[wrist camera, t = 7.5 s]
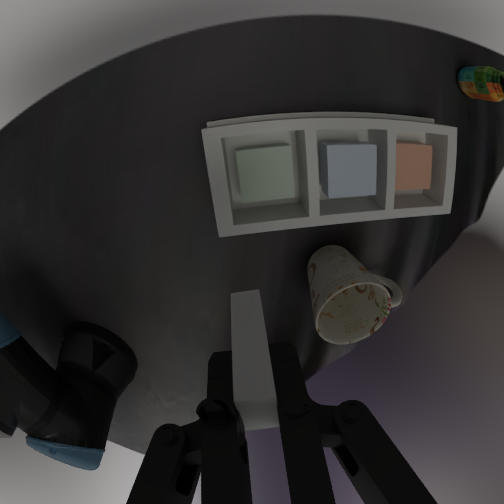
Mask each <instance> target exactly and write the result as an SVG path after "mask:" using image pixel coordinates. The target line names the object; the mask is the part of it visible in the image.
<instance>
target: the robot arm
mask: <svg viewBox="0 0 504 504" xmlns="http://www.w3.org/2000/svg"><path fill="white" fill-rule="evenodd" d="M231 331H232V350H231V351H222V352H213V354H212V356H211V358H210V360H209V362H208V384H207V398H206V399H205V400H203V401H201V403H200V404H199V405H198V406H197V410H196V413H197V415H198V416H199V418H200V419H199V420H197V421H195V422H193V423H190V424H187V425H184V426H181V427H180V426H178V425H175V424H164V425H162V426H160V427H159V428H157V430H156V431H155V433H154V435H153V437H152V439H151V442H150V444H149V447H148V449H147V452H146V454H145V457H144V459H143V462H142V465H141V467H140V469H139V472H138V475H137V477H136V480H135V483H134V485H133V487H132V490H131V492H130V495H129V498H128V500H127V503H126V504H191V503H192V500H193V497H194V493H195V490H196V486H197V483H198V480H199V476H200V473H201V504H253V503H252V493H251V482H250V470H249V459H248V448H247V441H246V438H245V430H246V431H248V430H257V429H264V428H272V427H279V426H280V432H281V439H282V445H283V452H284V458H285V465H286V472H287V478H288V485H289V491H290V498H291V504H336V503H335V499H334V494H333V490H332V485H331V481H330V476H329V472H328V468H327V464H326V459H325V455H324V451H323V447H331V449H332V451H333V453H334V454H335V456H336V457H337V459H338V461H339V463H340V464H341V466H342V468H343V469H344V471H345V473H346V474H347V476H348V477H349V479H350V481H351V482H352V484H353V486H354V487H355V489H356V490H357V492H358V494H359V495H360V497H361V498H362V500H363V502H364V503H365V504H437V502H436V501H435V499H434V498H433V497H432V495H431V494H430V493H429V491H428V490H427V489H426V487H425V486H424V484H423V483H422V482H421V480H420V479H419V478H418V476H417V475H416V473H415V472H414V471H413V469H412V468H411V467H410V465H409V464H408V463H407V461H406V460H405V458H404V457H403V456H402V454H401V453H400V451H399V450H398V449H397V447H396V446H395V445H394V443H393V442H392V441H391V439H390V438H389V436H388V435H387V434H386V432H385V431H384V430H383V428H382V427H381V426H380V424H379V423H378V421H377V420H376V419H375V417H374V416H373V415H372V413H371V412H370V410H369V409H368V408H367V406H365V405H364V404H363V403H362V402H360V401H357V400H348V401H345V402H342V403H341V404H340V405H338V406H328V405H320V404H318V403H316V402H314V401H313V400H311V398H310V397H309V395H308V393H307V390H306V386H305V381H304V377H303V374H302V370H301V366H300V362H299V358H298V354H297V350H296V348H295V347H294V346H293V345H292V343H291V342H290V341H288V342H282V343H276V344H270V345H268V342H267V335H266V329H265V323H264V317H263V311H262V305H261V298H260V292H259V289H257V290H250V291H244V292H237V293H231ZM60 348H61V349H60V352H59V357H58V364H57V368H56V370H54V369H53V368H52V367H51V366H50V365H49V364H48V363H47V362H46V361H45V360H44V359H43V358H42V357H41V356H40V355H39V354H38V353H37V352H36V351H35V350H34V349H33V348H32V347H31V346H30V345H29V344H28V342H27V341H26V340H25V339H24V338H23V337H22V336H21V332H20V331H19V330H17V329H16V328H15V327H14V326H13V325H12V324H11V323H10V322H9V321H8V319H7V318H6V317H5V316H4V315H3V314H1V313H0V438H6V437H7V438H10V437H12V435H13V433H14V431H15V429H16V427H18V428H20V429H21V430H23V431H24V432H25V433H27V434H28V436H26V443H27V445H28V446H30V447H31V448H33V449H35V450H37V451H38V452H40V453H42V454H44V455H46V456H48V457H50V458H53V459H55V460H58V461H60V462H63V463H65V464H68V465H71V466H74V467H77V468H81V469H85V470H95V469H97V468H98V467H99V465H100V462H101V459H102V456H103V453H104V452H105V445H106V441H107V437H108V433H109V429H110V424H111V421H112V417H113V413H114V409H115V406H116V402H117V399H118V398H119V397H120V395H121V394H122V393H123V391H124V390H125V388H126V387H127V386H128V384H130V383H131V381H132V380H133V379H134V376H135V373H136V370H137V360H136V357H135V355H134V353H133V352H132V350H131V349H130V348H129V347H128V346H127V345H126V344H125V343H124V342H123V341H122V340H121V339H120V338H118V337H117V336H116V335H114V334H113V333H111V332H109V331H107V330H105V329H103V328H101V327H99V326H96V325H93V324H89V323H74V324H71V325H70V326H68V327H67V329H66V330H65V332H64V334H63V336H62V338H61V342H60Z"/></svg>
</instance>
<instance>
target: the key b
mask: <svg viewBox="0 0 504 504" xmlns="http://www.w3.org/2000/svg"><path fill="white" fill-rule="evenodd" d="M319 144H320V163H321V188H322V192H323V193H324V194H325V195H326V196H327V197H328V198H339V197H352V196H367V195H376V175H377V145H376V144H373V143H370V142H366V141H345V142H319Z"/></svg>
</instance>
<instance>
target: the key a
mask: <svg viewBox="0 0 504 504" xmlns="http://www.w3.org/2000/svg"><path fill="white" fill-rule="evenodd" d="M235 152H236V159H237V167H238V174H239V182H240V190H241V197H242V203H247V202H256V201H265V200H274V199H283V198H293V197H295V192H294V177H293V164H292V151H291V145H289V144H288V143H278V144H267V145H257V146H249V147H240V148H236V151H235Z"/></svg>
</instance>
